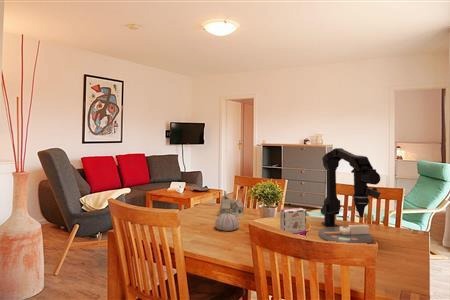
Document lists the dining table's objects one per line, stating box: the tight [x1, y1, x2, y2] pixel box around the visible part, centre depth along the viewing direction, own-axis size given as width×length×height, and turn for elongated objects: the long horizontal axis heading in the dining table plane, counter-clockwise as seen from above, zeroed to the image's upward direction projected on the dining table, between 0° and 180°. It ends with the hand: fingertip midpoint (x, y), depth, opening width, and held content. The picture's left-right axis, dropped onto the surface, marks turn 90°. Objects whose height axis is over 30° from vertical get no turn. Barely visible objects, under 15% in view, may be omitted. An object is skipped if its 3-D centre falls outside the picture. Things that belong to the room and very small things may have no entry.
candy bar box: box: [279, 207, 307, 237], centre depth 143 cm, size 11×5×16 cm, turn 105°
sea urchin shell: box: [214, 213, 240, 232], centre depth 168 cm, size 13×14×8 cm
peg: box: [324, 224, 370, 235], centre depth 154 cm, size 22×5×4 cm, turn 95°
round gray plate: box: [318, 226, 373, 245], centre depth 154 cm, size 25×25×2 cm
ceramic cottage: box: [217, 190, 245, 218], centre depth 196 cm, size 16×16×15 cm
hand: (361, 215), depth 147 cm, fingers open, 9 cm apart
